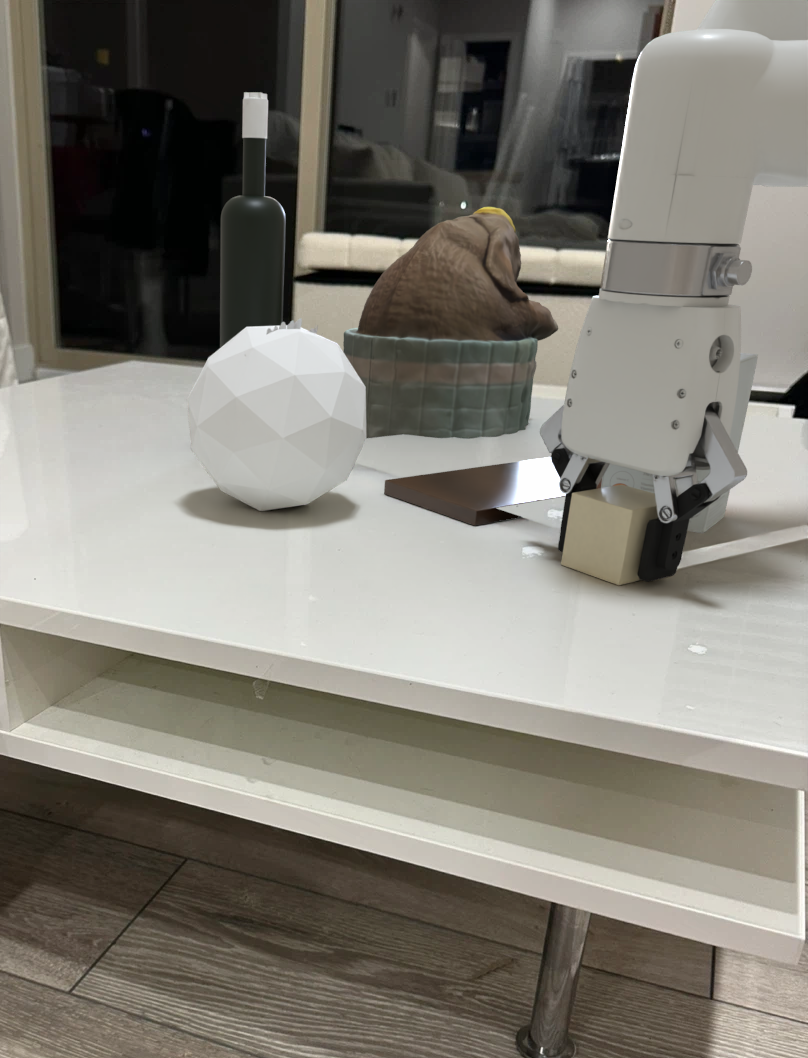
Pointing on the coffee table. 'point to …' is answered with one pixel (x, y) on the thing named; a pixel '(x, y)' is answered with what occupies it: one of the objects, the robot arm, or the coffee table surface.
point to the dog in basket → (450, 335)
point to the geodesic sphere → (277, 416)
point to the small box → (716, 509)
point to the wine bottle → (252, 237)
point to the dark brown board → (480, 489)
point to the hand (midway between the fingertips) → (615, 560)
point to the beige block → (608, 532)
